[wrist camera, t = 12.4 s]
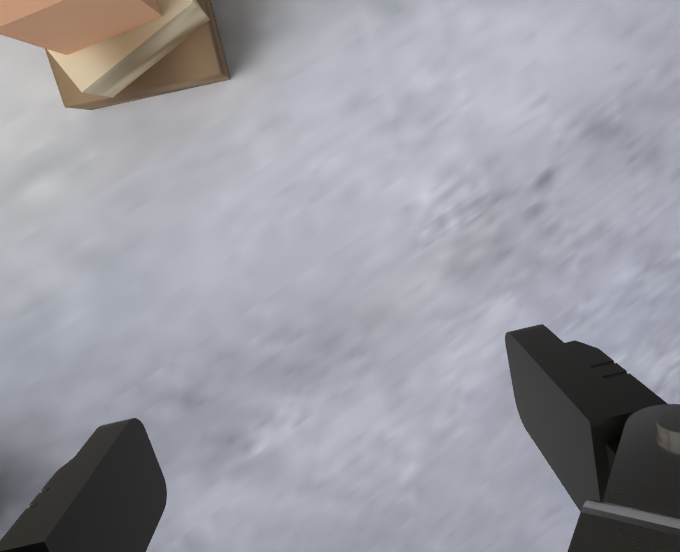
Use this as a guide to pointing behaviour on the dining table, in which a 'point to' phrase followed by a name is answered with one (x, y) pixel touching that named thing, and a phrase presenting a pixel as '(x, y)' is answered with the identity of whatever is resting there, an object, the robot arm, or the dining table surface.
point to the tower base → (160, 70)
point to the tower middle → (131, 49)
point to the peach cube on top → (72, 21)
